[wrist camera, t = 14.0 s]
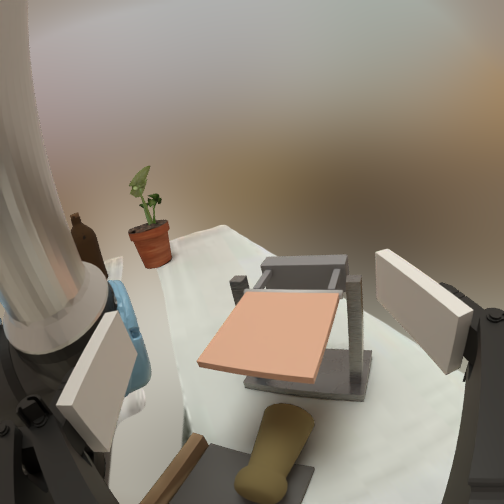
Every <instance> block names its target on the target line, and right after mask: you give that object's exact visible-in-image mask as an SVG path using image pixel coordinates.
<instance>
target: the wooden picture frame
mask: <svg viewBox="0 0 504 504" xmlns="http://www.w3.org/2000/svg"><path fill="white" fill-rule="evenodd" d="M208 446H209V445H208V443H207V441H206V439H205V438H204V436H203V435H200V434H196V433H192V435H191V436H190V438H189V439H188V440H187V442H186V443H185V444H184V446H183V447H182V448H181V450H180V451H179V453H178V454H177V455H176V457H175V458H174V459H173V461H172V462H171V463H170V465H169V466H168V467H167V469H166V470H165V471H164V473H163V474H162V475H161V476H160V478H159V479H158V480H157V482H156V483H155V484H154V486H153V487H152V488H151V489H150V491H149V492H148V493H147V495H146V496H145V497H144V498H143V500H142V501H141V502H140V503H139V504H169V502H170V501H171V500H172V498H173V497H174V496H175V494H176V493H177V491H178V490H179V489H180V487H181V486H182V484H183V483H184V482H185V480H186V479H187V477H188V476H189V474H190V473H191V472H192V470H193V469H194V467H195V466H196V464H197V463H198V461H199V460H200V458H201V457H202V455H203V454H204V452H205V451H206V450H207V448H208Z"/></svg>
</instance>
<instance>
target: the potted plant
mask: <svg viewBox="0 0 504 504" xmlns="http://www.w3.org/2000/svg"><path fill="white" fill-rule="evenodd" d="M149 169H150V166H147V167H144V168H143V169H142V170H141V171H139V172H138V173H137V174H136V175H135V177H134V178H133V180H132V181H131V183H130V185H129V186H132V190H131V192H130V194H131V195H133V196H135V197H141V199H142V202H143V204H140V205H139V206H141V207H142V208H144V211H145V215H146V218H147V221H148V223H146V224H143V225H140V226H137V227H134V228H132V229H130V230H129V232H128V233H129V237H130V240H131V241H133V242H134V244H135V246H136V248H137V250H138V253H139V255H140V257H141V259H142V261H143V263H144V265H145V268H147V269H152V268H157V267H160V266H162V265H163V264H165V263H167V262H168V261H169V260H170V259H171V258H172V256H171V249H170V243H169V237H168V230H169V224H168V221H167V220H155V210H154V209H155V205H156V203H157V202H158V204H160V203H161V200H162V199H161V198H159V195H158V194H153V195H149V196H150V197H152V198H153V199H149V198H148V203H145V201H144V198H143V196H142V193H143V191H144V189H145V185H146V181H147V180H145V179H146V177H147V175H148V172H149ZM152 204H153V205H154V208H153V214H154V216H153V221H152V218H151V215H150V212H149V210H148V205H149V206H150V207H151V206H152Z"/></svg>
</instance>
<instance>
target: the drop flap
mask: <svg viewBox="0 0 504 504" xmlns="http://www.w3.org/2000/svg"><path fill="white" fill-rule="evenodd" d="M261 270H262V276H261V277H260V279H259V280H258V282H257V283H256V285H255V286H254V288H253V289H245V290H244V295H243V297H242V298H241V300H240V301H239V302H238V304H237V305H236V307H235V308H234V309H233V311H232V312H231V314H230V315H229V316H228V318H227V319H226V321H225V322H224V323H223V325H222V326H221V328H220V329H219V330H218V332H217V333H216V335H215V336H214V337H213V339H212V340H211V342H210V343H209V344H208V346H207V347H206V349H205V350H204V351H203V353H202V354H201V356H200V357H199V358H198V360H197V363H198V365H199V367H203V368H208V369H213V370H218V371H223V372H229V373H235V374H241V375H247V376H253V377H260V378H267V379H274V380H282V381H290V382H299V383H308V384H314V383H315V380H316V377H317V374H318V371H319V368H320V365H321V362H322V358H323V355H324V352H325V349H326V345H327V342H328V339H329V335H330V332H331V328H332V325H333V321H334V318H335V314H336V311H337V307H338V303H339V299H343V292H346V278H347V275H349V267H348V257H347V255H317V256H284V257H283V256H282V257H266V259H265V260H264V261H263V263H262V264H261ZM265 286H266V289H264V288H265Z"/></svg>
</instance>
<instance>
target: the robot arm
mask: <svg viewBox="0 0 504 504" xmlns="http://www.w3.org/2000/svg"><path fill="white" fill-rule="evenodd" d="M375 255H376V256H375V258H376V287H377V288H376V292H377V300H378V301H379V302H380V303H381V304H382V306H383V307H384V308H386V310H387V311H388V312H389V313H390V314H391V315H392V316H393V317H394V318H395V319H396V320H397V321H398V322H399V323H400V325H401V326H402V327H403V328H404V329H405V330H406V331H407V332H408V333H409V334H410V335H411V337H412V338H413V339H414V340H415V341H416V342H417V343H418V344H419V345H420V346H421V348H422V349H423V350H424V351H425V352H426V353H427V354H428V355H429V356H430V358H431V359H432V360H433V361H434V362H435V363H436V364H437V366H438V367H439V368H440V369H441V370H442V371H443V372H444V374H445V375H447V374H449V373H451V372H453V371H455V370H457V369H459V368H460V367H461V363H462V359H463V356H464V357H465V358H466V359H467V360H468V361H469V362H468V365H467V369H466V372H465V375H464V378H463V382H465V380H466V384H465V394H464V403H463V410H462V417H461V424H460V430H459V436H458V441H457V446H456V451H455V455H454V460H453V464H452V468H451V472H450V476H449V480H448V484H447V487H446V491H445V494H444V497H443V500H442V504H504V311H503V310H500V309H497V308H487V309H485V310H484V309H483V308H482V307H480V306H479V305H478V304H476V303H475V302H474V301H472V300H471V299H470V298H468V297H467V296H466V297H465V295H464V294H463V293H461V292H459V291H458V290H457V289H456V288H454V287H453V286H451V285H448V284H445V283H437V282H435V281H434V280H433V279H431V278H430V277H428V276H427V275H426V274H424V273H423V272H421V271H420V270H418V269H417V268H415V267H414V266H413V265H411V264H410V263H408V262H407V261H405V260H404V259H402V258H401V257H400V256H398V255H396V254H395V253H394V252H392V251H391V250H389V249H385V250H381V251H377V252H375ZM0 302H1V304H2V305H3V307H4V308H5V313H4V319H3V325H2V323H1V322H2V321H1V318H0V504H119V502H118V501H117V499H116V498H115V497H114V495H113V494H112V492H111V491H110V489H109V488H108V486H107V485H106V483H105V482H104V480H103V477H104V473H105V460H104V456H103V453H102V452H110V448H111V444H112V440H113V436H114V432H115V429H116V425H117V421H118V418H119V414H120V410H121V407H122V403H123V400H124V397H126V396H127V395H128V394H129V393H131V392H133V391H135V390H138V389H140V388H142V387H144V386H145V385H146V384H147V383H148V382H149V380H150V378H151V365H150V361H149V358H148V354H147V350H146V347H145V344H144V341H143V338H142V335H141V333H140V331H139V327H138V323H137V319H136V316H135V313H134V310H133V307H132V304H131V301H130V299H129V296H128V293H127V291H126V288H125V286H124V284H123V283H122V282H121V281H119V280H114V281H112V280H109V281H107V280H106V277H105V275H104V274H103V273H102V271H101V270H100V269H99V268H98V267H96V266H95V265H93V264H91V263H87V262H84V261H81V258H80V256H79V253H78V251H77V248H76V246H75V243H74V240H73V238H72V235H71V232H70V230H69V227H68V224H67V221H66V218H65V215H64V212H63V209H62V206H61V203H60V200H59V197H58V193H57V190H56V187H55V184H54V180H53V176H52V173H51V169H50V165H49V161H48V157H47V153H46V149H45V145H44V141H43V136H42V132H41V127H40V122H39V117H38V111H37V106H36V100H35V93H34V86H33V80H32V71H31V62H30V51H29V36H28V0H0Z"/></svg>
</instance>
